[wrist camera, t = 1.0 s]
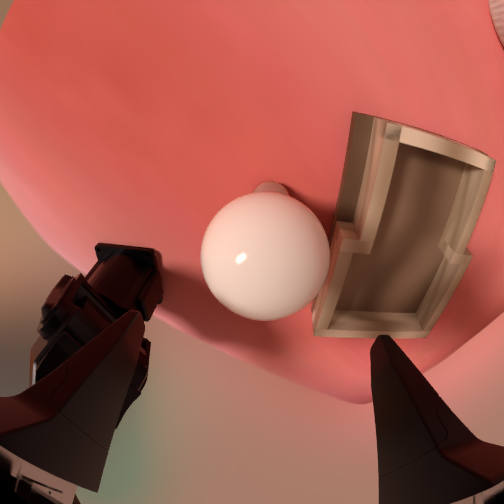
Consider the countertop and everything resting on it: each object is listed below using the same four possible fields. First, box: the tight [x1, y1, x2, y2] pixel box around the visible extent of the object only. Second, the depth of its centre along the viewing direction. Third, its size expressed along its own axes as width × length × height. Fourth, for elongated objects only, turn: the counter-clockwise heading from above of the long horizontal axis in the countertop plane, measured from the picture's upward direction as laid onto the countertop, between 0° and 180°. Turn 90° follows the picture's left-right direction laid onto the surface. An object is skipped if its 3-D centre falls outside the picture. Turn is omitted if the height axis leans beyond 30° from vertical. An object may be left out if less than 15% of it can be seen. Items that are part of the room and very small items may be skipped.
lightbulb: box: [201, 181, 330, 321], centre depth 16 cm, size 6×6×11 cm
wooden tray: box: [311, 112, 496, 338], centre depth 20 cm, size 12×18×4 cm, turn 177°
